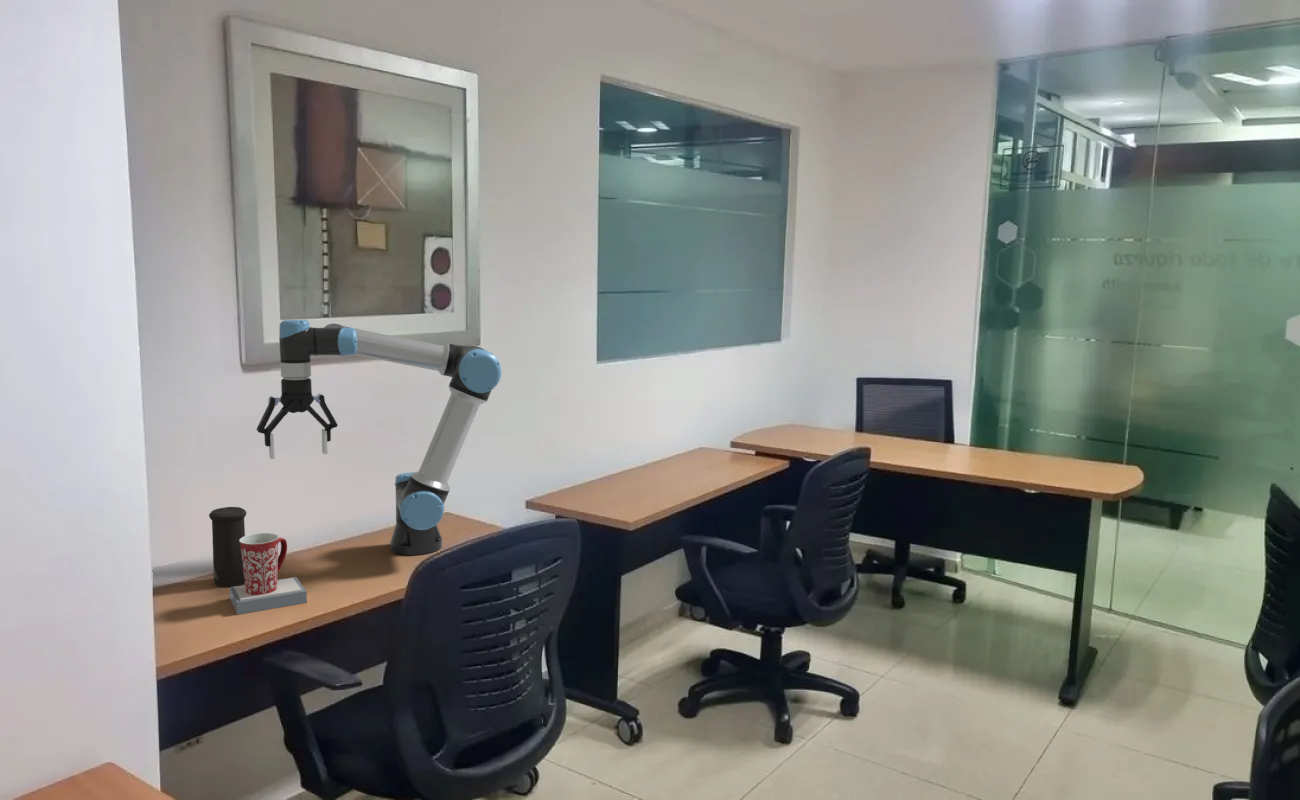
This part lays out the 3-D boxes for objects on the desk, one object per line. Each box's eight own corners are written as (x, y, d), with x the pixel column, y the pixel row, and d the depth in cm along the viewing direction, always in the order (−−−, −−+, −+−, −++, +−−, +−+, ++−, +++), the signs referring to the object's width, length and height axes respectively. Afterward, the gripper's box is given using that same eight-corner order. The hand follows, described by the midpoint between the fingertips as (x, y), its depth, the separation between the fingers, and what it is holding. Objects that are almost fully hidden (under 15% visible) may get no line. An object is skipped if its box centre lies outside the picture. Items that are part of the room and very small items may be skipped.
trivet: (296, 587, 233) (296, 575, 232) (306, 602, 223) (306, 590, 222) (230, 598, 224) (229, 586, 223) (237, 614, 214) (236, 601, 213)
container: (235, 573, 242) (232, 502, 239) (256, 580, 237) (253, 507, 234) (205, 583, 234) (201, 509, 231) (226, 590, 230) (222, 515, 227)
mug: (259, 599, 216) (256, 545, 214) (233, 592, 219) (231, 539, 217) (300, 583, 227) (298, 532, 225) (275, 577, 231) (273, 527, 229)
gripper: (340, 374, 247) (342, 449, 250) (243, 378, 233) (246, 457, 236) (347, 377, 240) (349, 454, 243) (247, 381, 227) (251, 462, 230)
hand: (298, 455), depth 240 cm, fingers open, 13 cm apart
